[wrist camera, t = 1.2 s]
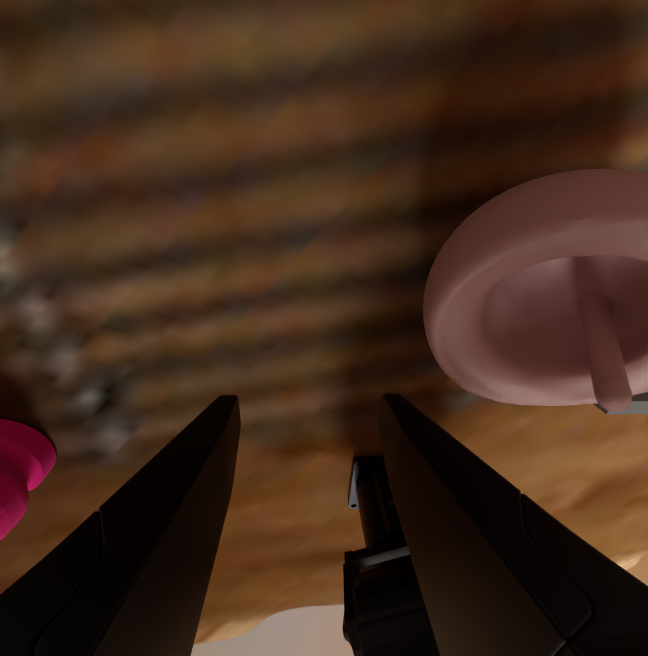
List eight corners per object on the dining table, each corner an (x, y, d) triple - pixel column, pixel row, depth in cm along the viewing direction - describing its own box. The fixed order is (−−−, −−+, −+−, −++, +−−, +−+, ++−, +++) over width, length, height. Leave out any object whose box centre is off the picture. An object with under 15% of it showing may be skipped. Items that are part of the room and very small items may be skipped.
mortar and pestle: (358, 279, 20) (420, 394, 10) (516, 115, 17) (854, 37, 7) (466, 376, 25) (586, 525, 14) (610, 261, 21) (903, 350, 11)
